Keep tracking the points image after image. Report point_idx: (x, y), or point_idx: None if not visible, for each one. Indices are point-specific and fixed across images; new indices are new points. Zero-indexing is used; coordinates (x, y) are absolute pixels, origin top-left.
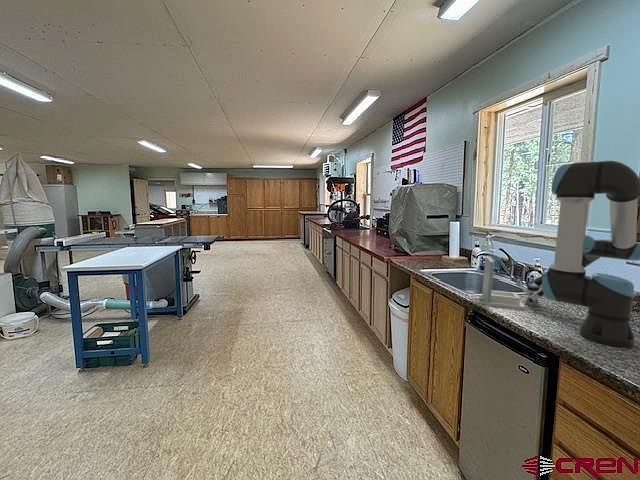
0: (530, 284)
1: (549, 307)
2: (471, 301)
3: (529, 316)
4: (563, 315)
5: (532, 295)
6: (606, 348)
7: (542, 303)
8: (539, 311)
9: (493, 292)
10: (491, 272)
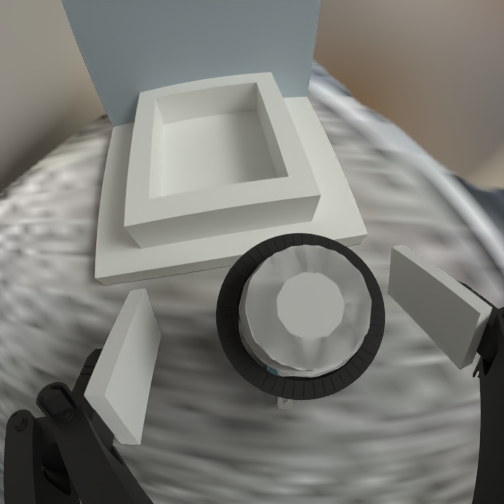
0: (320, 260)
1: (281, 455)
2: None
3: (15, 294)
4: None
5: (125, 307)
6: None
7: (377, 410)
8: None
9: (260, 99)
10: None
